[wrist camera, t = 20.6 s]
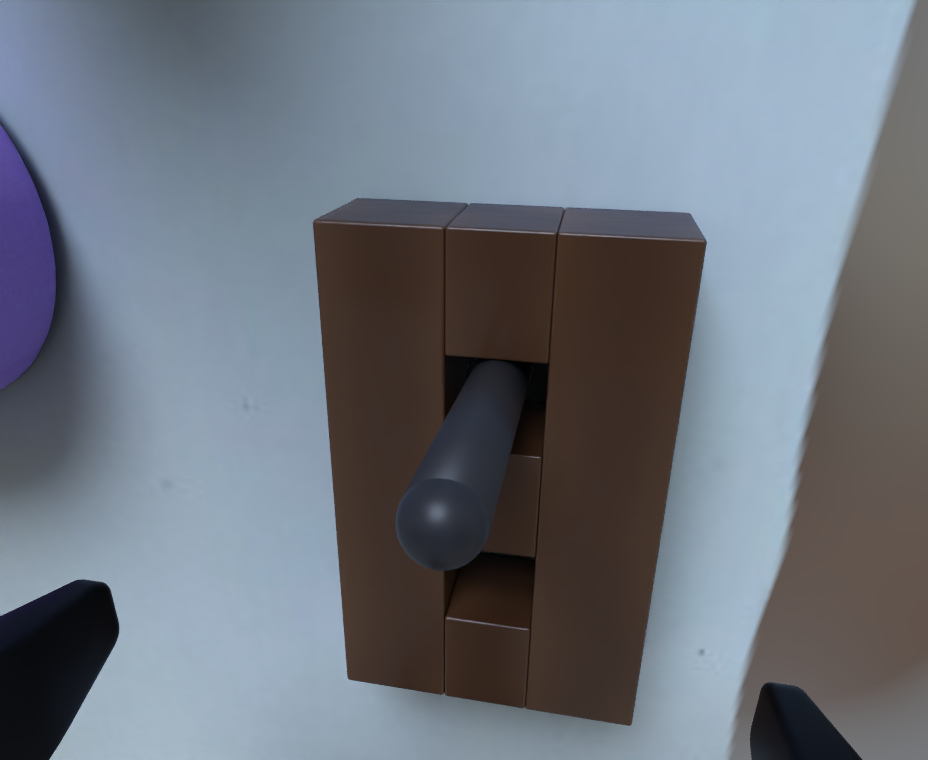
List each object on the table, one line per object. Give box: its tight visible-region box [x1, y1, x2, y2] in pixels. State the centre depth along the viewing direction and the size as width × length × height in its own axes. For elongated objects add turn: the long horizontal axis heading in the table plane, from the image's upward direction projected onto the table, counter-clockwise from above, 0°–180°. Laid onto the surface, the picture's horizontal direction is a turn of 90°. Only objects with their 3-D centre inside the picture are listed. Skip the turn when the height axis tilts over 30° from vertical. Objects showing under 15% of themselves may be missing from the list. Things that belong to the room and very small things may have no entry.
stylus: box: [396, 358, 534, 571], centre depth 14 cm, size 1×1×10 cm
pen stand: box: [313, 198, 707, 726], centre depth 19 cm, size 8×14×3 cm, turn 179°
